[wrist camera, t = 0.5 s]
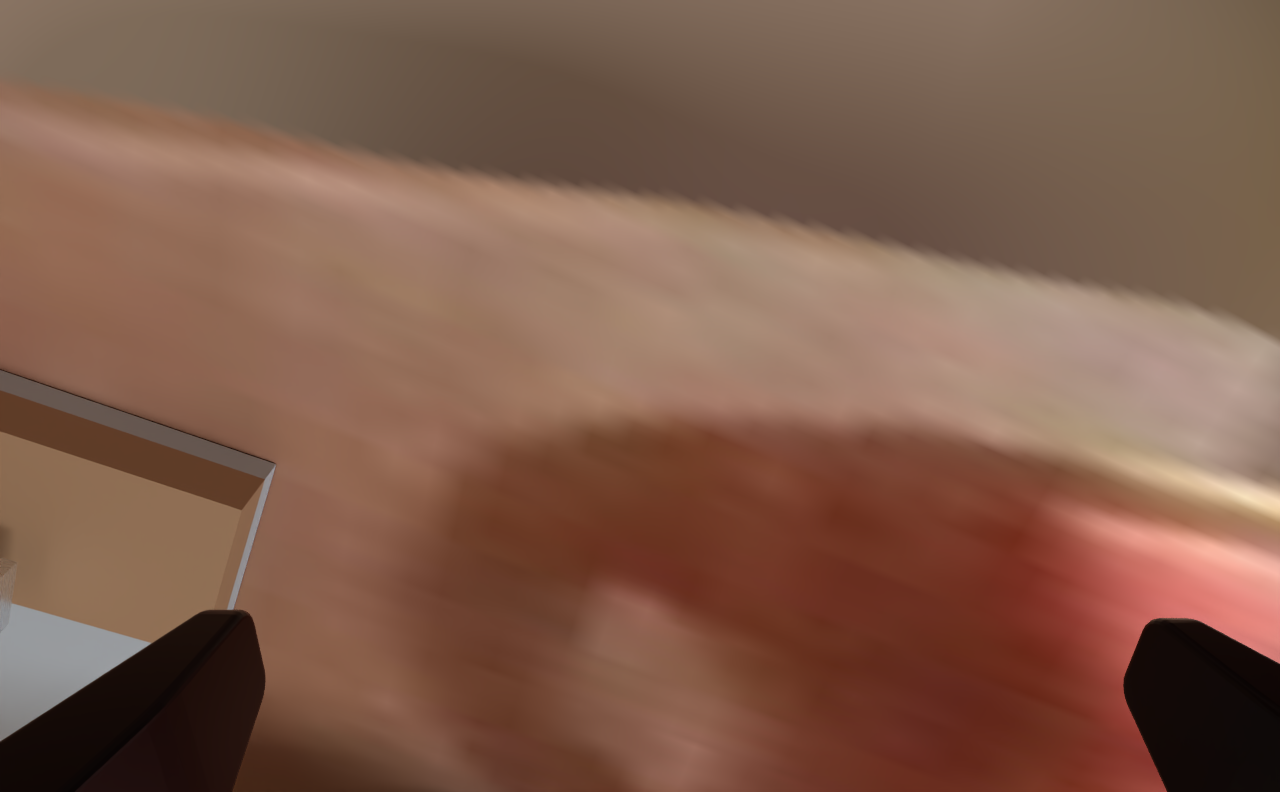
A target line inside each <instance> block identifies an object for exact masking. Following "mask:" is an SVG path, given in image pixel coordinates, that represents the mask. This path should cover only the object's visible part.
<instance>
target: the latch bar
mask: <svg viewBox="0 0 1280 792" xmlns="http://www.w3.org/2000/svg"><path fill="white" fill-rule="evenodd" d="M16 569H17V562H15V561H12V560H8V559H5V558H2V557H0V633H1V632H2V631H3V630H4V629H5V628H6V627H7V626H8V625H9V618H10V611H11V604H12V597H13V590H14V583H15V576H16Z"/></svg>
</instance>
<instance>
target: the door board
mask: <svg viewBox="0 0 1280 792" xmlns="http://www.w3.org/2000/svg"><path fill="white" fill-rule="evenodd" d="M275 467H276V464H274V463H271V462H268V461H265V460H262V459H259V458H256V457H253V456H250V455H248V454H245V453H242V452H239V451H236V450H233V449H230V448H227V447H224V446H221V445H218V444H215V443H212V442H209V441H207V440H204V439H201V438H198V437H195V436H192V435H189V434H186V433H183V432H180V431H177V430H174V429H171V428H168V427H166V426H163V425H160V424H157V423H154V422H151V421H148V420H145V419H142V418H139V417H136V416H133V415H130V414H127V413H125V412H122V411H119V410H116V409H113V408H110V407H107V406H104V405H101V404H98V403H95V402H92V401H89V400H86V399H84V398H81V397H78V396H75V395H72V394H69V393H66V392H63V391H60V390H57V389H54V388H51V387H48V386H46V385H43V384H40V383H37V382H34V381H31V380H28V379H25V378H22V377H19V376H16V375H13V374H10V373H7V372H5V371H2V370H0V557H2V558H5V559H8V560H12V561H15V562H17V569H16V576H15V583H14V590H13V597H12V604H11V611H10V618H9V625H8V626H7V627H6V628H5V629H4V630H3V631H2V632H1V633H0V741H1V740H3V739H5V738H6V737H8V736H9V735H11V734H12V733H14V732H15V731H17V730H18V729H20V728H21V727H23V726H25V725H26V724H28V723H29V722H31V721H32V720H34V719H35V718H37V717H38V716H40V715H42V714H43V713H45V712H46V711H48V710H49V709H51V708H52V707H54V706H55V705H57V704H58V703H60V702H62V701H63V700H65V699H66V698H68V697H69V696H71V695H72V694H74V693H75V692H77V691H79V690H80V689H82V688H83V687H85V686H86V685H88V684H89V683H91V682H92V681H94V680H96V679H97V678H99V677H100V676H102V675H103V674H105V673H106V672H108V671H109V670H111V669H112V668H114V667H116V666H117V665H119V664H120V663H122V662H123V661H125V660H126V659H128V658H129V657H131V656H133V655H134V654H136V653H137V652H139V651H140V650H142V649H143V648H145V647H146V646H148V645H150V644H151V643H153V642H154V641H156V640H157V639H159V638H160V637H162V636H163V635H165V634H166V633H168V632H170V631H171V630H173V629H174V628H176V627H177V626H179V625H180V624H182V623H183V622H185V621H187V620H188V619H190V618H191V617H193V616H194V615H196V614H198V613H200V612H202V611H205V610H233V608H234V605H235V602H236V598H237V595H238V592H239V588H240V585H241V581H242V578H243V575H244V571H245V568H246V565H247V561H248V558H249V554H250V551H251V548H252V544H253V541H254V538H255V534H256V531H257V527H258V524H259V521H260V517H261V514H262V511H263V507H264V504H265V500H266V497H267V494H268V490H269V487H270V484H271V480H272V477H273V473H274V470H275Z"/></svg>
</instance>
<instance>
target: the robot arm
mask: <svg viewBox="0 0 1280 792" xmlns="http://www.w3.org/2000/svg"><path fill="white" fill-rule="evenodd" d="M1123 686H1124V694H1125V699H1126V702H1127V705H1128V707H1129V709H1130V711H1131V713H1132V716H1133V718H1134V720H1135V722H1136V724H1137V727H1138V729H1139V731H1140V733H1141V735H1142V737H1143V740H1144V742H1145V744H1146V746H1147V748H1148V751H1149V753H1150V755H1151V757H1152V759H1153V762H1154V764H1155V766H1156V768H1157V770H1158V772H1159V775H1160V777H1161V779H1162V781H1163V783H1164V786H1165V788H1166V790H1167V792H1280V664H1279V663H1277V662H1275V661H1273V660H1272V659H1270V658H1268V657H1266V656H1264V655H1262V654H1260V653H1258V652H1257V651H1255V650H1253V649H1251V648H1249V647H1247V646H1245V645H1243V644H1242V643H1240V642H1238V641H1236V640H1234V639H1232V638H1230V637H1228V636H1227V635H1225V634H1223V633H1221V632H1219V631H1217V630H1215V629H1213V628H1212V627H1210V626H1208V625H1206V624H1204V623H1202V622H1200V621H1197V620H1194V619H1187V618H1158V619H1154V620H1151V621H1150V622H1149V623H1148V624H1147V625H1146V626H1145V627H1144V629H1143V631H1142V634H1141V636H1140V639H1139V641H1138V644H1137V646H1136V649H1135V651H1134V653H1133V656H1132V658H1131V661H1130V663H1129V666H1128V668H1127V671H1126V673H1125V677H1124V684H1123ZM264 690H265V670H264V665H263V661H262V656H261V652H260V647H259V643H258V638H257V634H256V629H255V625H254V622H253V619H252V617H251V616H250V614H249V613H248V612H246V611H243V610H205V611H202V612H200V613H198V614H196V615H194V616H193V617H191V618H190V619H188V620H187V621H185V622H183V623H182V624H180V625H179V626H177V627H176V628H174V629H173V630H171V631H170V632H168V633H166V634H165V635H163V636H162V637H160V638H159V639H157V640H156V641H154V642H153V643H151V644H150V645H148V646H146V647H145V648H143V649H142V650H140V651H139V652H137V653H136V654H134V655H133V656H131V657H129V658H128V659H126V660H125V661H123V662H122V663H120V664H119V665H117V666H116V667H114V668H112V669H111V670H109V671H108V672H106V673H105V674H103V675H102V676H100V677H99V678H97V679H96V680H94V681H92V682H91V683H89V684H88V685H86V686H85V687H83V688H82V689H80V690H79V691H77V692H75V693H74V694H72V695H71V696H69V697H68V698H66V699H65V700H63V701H62V702H60V703H58V704H57V705H55V706H54V707H52V708H51V709H49V710H48V711H46V712H45V713H43V714H42V715H40V716H38V717H37V718H35V719H34V720H32V721H31V722H29V723H28V724H26V725H25V726H23V727H21V728H20V729H18V730H17V731H15V732H14V733H12V734H11V735H9V736H8V737H6V738H5V739H3V740H1V741H0V792H232V790H233V787H234V784H235V781H236V778H237V775H238V772H239V769H240V766H241V763H242V760H243V757H244V754H245V751H246V748H247V745H248V742H249V739H250V736H251V733H252V729H253V726H254V723H255V720H256V717H257V714H258V711H259V708H260V705H261V702H262V699H263V695H264Z"/></svg>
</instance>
